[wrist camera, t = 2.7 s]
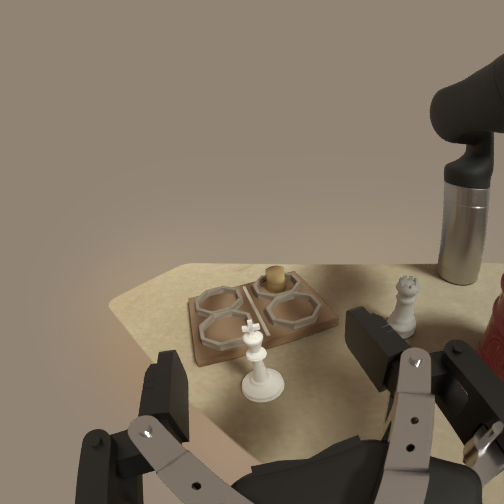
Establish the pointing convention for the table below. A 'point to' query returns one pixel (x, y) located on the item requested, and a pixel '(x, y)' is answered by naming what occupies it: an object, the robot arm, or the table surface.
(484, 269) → the table surface
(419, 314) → the table surface
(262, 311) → the brown octagon slot tray
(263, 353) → the chess piece
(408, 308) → the rook chess piece
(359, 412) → the table surface
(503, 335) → the canister
